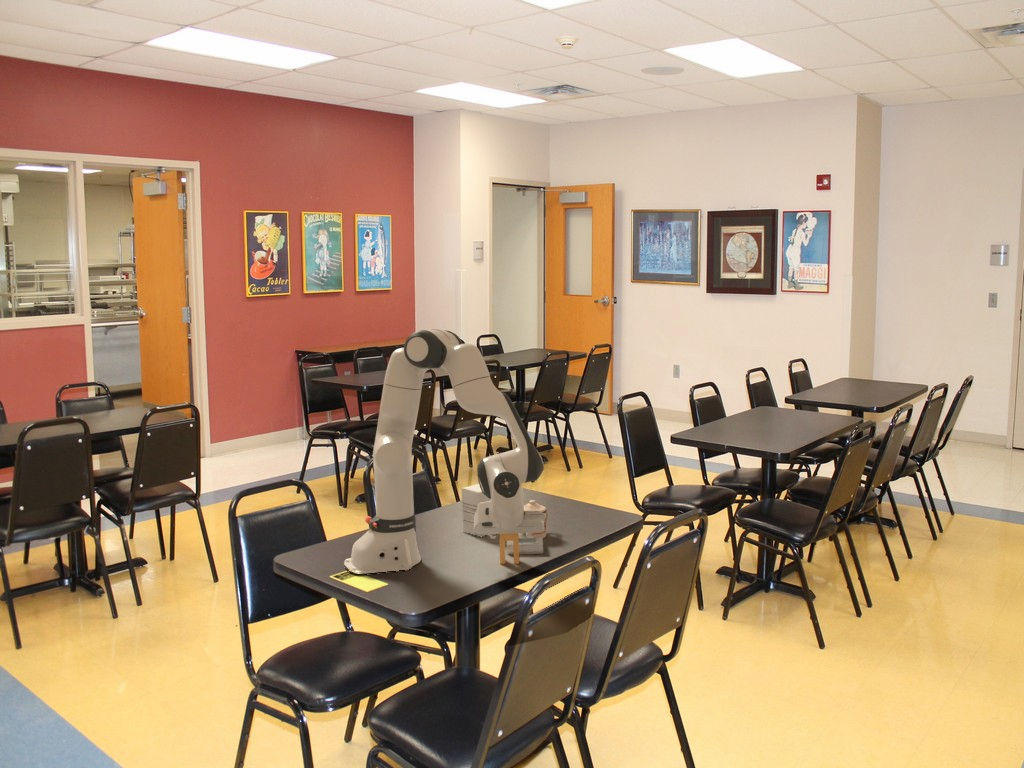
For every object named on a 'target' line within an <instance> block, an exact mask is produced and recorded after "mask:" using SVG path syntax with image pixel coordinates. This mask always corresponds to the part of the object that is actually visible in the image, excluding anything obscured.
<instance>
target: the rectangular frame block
mask: <svg viewBox="0 0 1024 768" xmlns="http://www.w3.org/2000/svg"><path fill="white" fill-rule="evenodd" d="M543 539H544V538H542V536H528V538H527V537H526V538H523V537H520V536H519V555H543V554H544V541H543ZM506 555H514V544H513V541H506Z"/></svg>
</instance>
